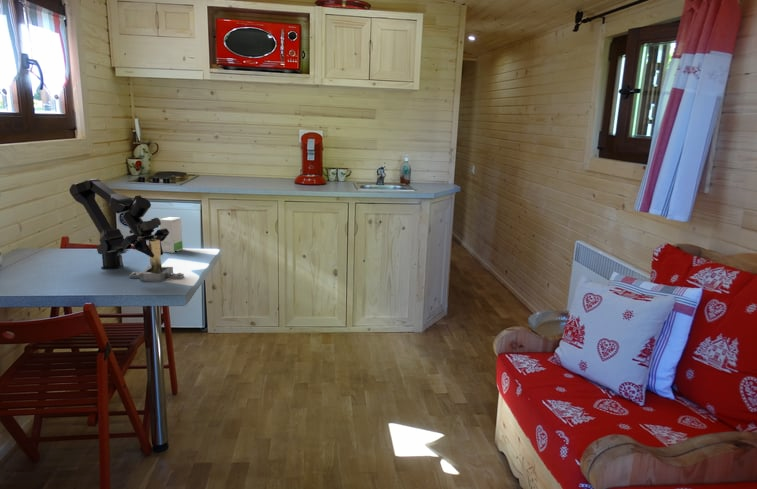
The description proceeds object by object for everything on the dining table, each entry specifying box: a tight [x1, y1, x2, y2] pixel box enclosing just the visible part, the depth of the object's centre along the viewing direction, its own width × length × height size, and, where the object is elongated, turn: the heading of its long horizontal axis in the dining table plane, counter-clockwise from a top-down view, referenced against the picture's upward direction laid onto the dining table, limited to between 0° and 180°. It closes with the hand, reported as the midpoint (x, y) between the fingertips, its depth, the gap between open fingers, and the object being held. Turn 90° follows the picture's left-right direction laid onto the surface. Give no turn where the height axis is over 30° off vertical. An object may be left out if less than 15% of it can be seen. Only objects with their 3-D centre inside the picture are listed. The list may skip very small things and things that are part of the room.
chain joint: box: [129, 265, 185, 282], centre depth 202 cm, size 20×9×3 cm, turn 93°
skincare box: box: [159, 216, 184, 254], centre depth 240 cm, size 8×7×16 cm
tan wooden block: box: [148, 239, 163, 273], centre depth 200 cm, size 4×4×12 cm
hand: (157, 255), depth 200 cm, fingers closed on tan wooden block, 4 cm apart
